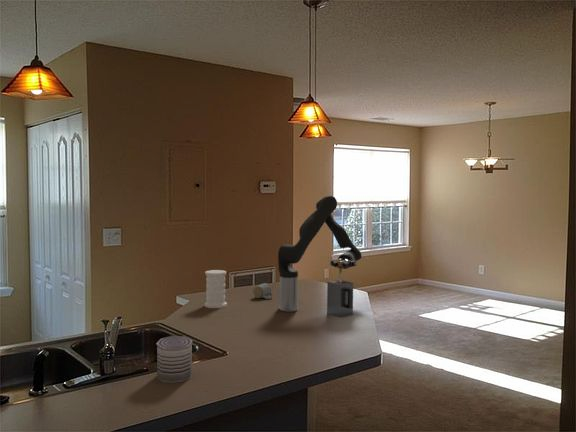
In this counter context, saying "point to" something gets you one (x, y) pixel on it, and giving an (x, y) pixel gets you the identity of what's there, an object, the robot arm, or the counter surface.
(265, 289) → the ceramic mug
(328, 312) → the square hole block
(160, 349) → the can
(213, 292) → the decorative container
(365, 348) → the counter surface
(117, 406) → the counter surface
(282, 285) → the robot arm
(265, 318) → the counter surface
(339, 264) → the plunger
